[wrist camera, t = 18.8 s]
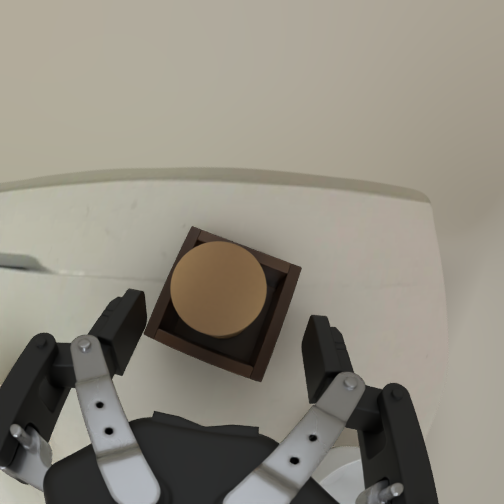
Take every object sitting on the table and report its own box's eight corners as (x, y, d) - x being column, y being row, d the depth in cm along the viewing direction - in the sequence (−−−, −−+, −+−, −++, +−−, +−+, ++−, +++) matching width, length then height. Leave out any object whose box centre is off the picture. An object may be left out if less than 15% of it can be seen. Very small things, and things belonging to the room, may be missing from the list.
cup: (292, 434, 20) (315, 462, 13) (390, 427, 20) (431, 443, 14) (279, 501, 17) (294, 539, 11) (374, 490, 17) (407, 516, 11)
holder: (286, 284, 24) (302, 267, 19) (253, 373, 21) (261, 382, 16) (199, 251, 24) (191, 225, 19) (162, 336, 22) (143, 334, 16)
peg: (258, 295, 23) (279, 260, 14) (239, 347, 21) (246, 350, 12) (207, 276, 23) (193, 228, 14) (186, 326, 22) (155, 312, 12)
